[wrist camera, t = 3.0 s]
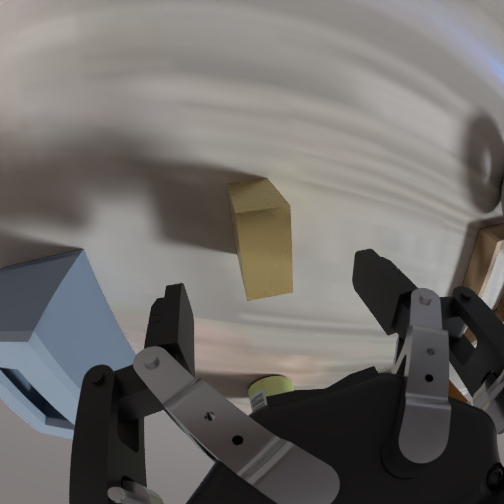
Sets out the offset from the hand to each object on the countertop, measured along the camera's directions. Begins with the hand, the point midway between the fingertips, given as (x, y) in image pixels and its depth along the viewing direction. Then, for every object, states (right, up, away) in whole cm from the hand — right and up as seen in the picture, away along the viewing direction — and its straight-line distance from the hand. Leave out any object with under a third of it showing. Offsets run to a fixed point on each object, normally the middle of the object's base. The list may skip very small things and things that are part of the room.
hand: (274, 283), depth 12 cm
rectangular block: (-1, +4, +5) cm, 7 cm away
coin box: (-17, -4, +7) cm, 19 cm away
